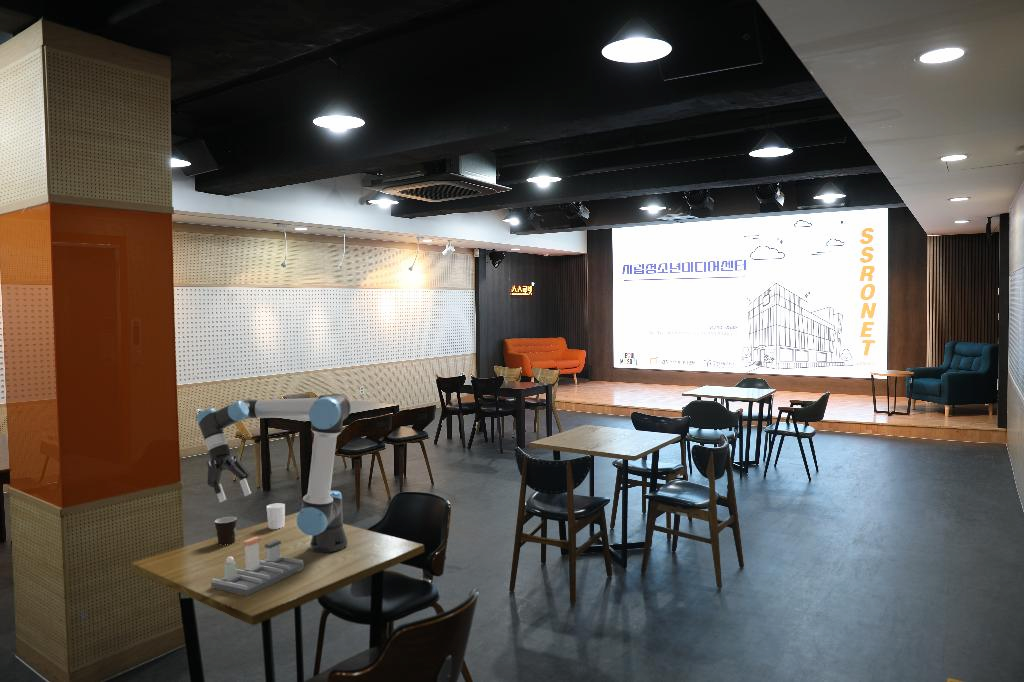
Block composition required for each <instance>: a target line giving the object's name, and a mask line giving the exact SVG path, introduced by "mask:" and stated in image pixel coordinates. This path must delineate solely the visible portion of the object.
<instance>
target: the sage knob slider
mask: <svg viewBox="0 0 1024 682" xmlns="http://www.w3.org/2000/svg"><path fill="white" fill-rule="evenodd" d="M225 562H226V564H224V565H223V570H224V572H223V573H224V576H223V577H224V578H222V577H221V578H222V579H221V580H223V581H227V582H234V581H236V580H238V579H240V578H241V577H240V575H237V569H238V568H237V561H235V558H234V557H233V556H231V555H230V556H227V558H226V560H225Z"/></svg>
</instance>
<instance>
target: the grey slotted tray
mask: <svg viewBox="0 0 1024 682" xmlns="http://www.w3.org/2000/svg"><path fill="white" fill-rule="evenodd" d="M280 557H282V560H280V561H278V562H276V563H272V562H267V561H265V560H266V559H267V557H265V558H264V559H259V560H260V566H262V569H260V570H258V571H256V572H250V571H245V570H244V569H245V568H246V566H245V567H242V568H240V569H239V568H237V575H240V577H241V578H240V579H238V580H236V581H234V582H227V581H223V580H221V579H222V578H224V576H222V577H220V578H211V582H210V586H211V587H214V588H213V589H215V588H217V589H216V590H219V589H221V590H220V591H223V592H224V591H225V592H228V591H229V593H234V594H237V595H241V594H242V596H245V597H246V596H250V594H251V595H253V594H254V592H255V593H256V591H257V592H258V591H259V592H260V591H261V590H262V588H263V589H265V588H267V587H269V586H271V585H273V584H276V583H277V582H279V581H281V579H282V580H284V579H285V578H288V577H290V576H292V575H294V574H296V573H298V572H299V571H298V570H300V569H302V568H304V569H305V564H304V560H303V559H299V558H293V557H288V556H282V555H280ZM302 570H303V569H302ZM297 571H298V572H297ZM300 571H301V570H300ZM295 572H296V573H295ZM293 573H294V574H293ZM291 574H292V575H291ZM287 576H288V577H287ZM283 578H284V579H283ZM252 593H253V594H252Z"/></svg>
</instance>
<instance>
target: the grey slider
mask: <svg viewBox="0 0 1024 682" xmlns="http://www.w3.org/2000/svg"><path fill="white" fill-rule="evenodd" d="M281 543H282V540H279V539H274V540H272V541H270V542H268V543H266V544H264V548H265V549H266V558H267V559H266V558H265V559H266V560H265V561H267V562H272V563H276V562H278V561H280V560H282V557H280V556H281V549H280V548H281V547H280V545H281Z"/></svg>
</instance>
